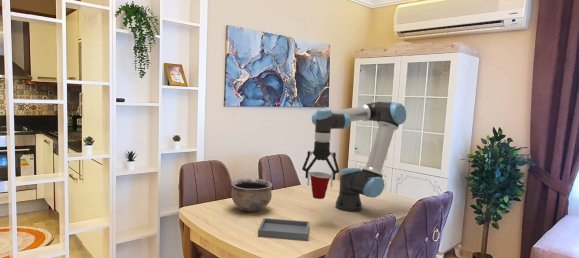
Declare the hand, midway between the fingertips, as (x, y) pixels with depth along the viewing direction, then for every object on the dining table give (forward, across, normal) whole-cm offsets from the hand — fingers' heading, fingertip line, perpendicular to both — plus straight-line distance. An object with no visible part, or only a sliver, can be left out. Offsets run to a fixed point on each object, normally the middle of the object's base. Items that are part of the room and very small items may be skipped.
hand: (319, 185), depth 177 cm
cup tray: (+19, +15, +14) cm, 28 cm away
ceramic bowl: (+20, +36, -14) cm, 43 cm away
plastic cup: (+6, 0, 0) cm, 6 cm away
